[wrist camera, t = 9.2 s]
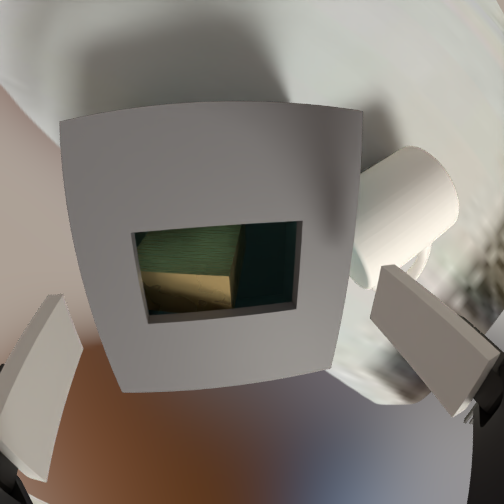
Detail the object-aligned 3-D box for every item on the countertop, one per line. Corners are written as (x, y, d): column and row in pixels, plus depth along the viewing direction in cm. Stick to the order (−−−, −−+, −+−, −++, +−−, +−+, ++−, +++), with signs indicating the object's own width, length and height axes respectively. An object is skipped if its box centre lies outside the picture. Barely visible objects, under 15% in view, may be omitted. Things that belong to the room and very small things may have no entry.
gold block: (169, 244, 22) (136, 308, 17) (163, 210, 21) (122, 270, 15) (245, 247, 22) (232, 317, 16) (244, 211, 20) (228, 276, 15)
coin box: (114, 125, 19) (59, 121, 10) (294, 117, 21) (362, 110, 12) (138, 309, 25) (122, 392, 16) (288, 295, 27) (330, 368, 18)
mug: (300, 193, 24) (345, 221, 17) (387, 141, 23) (449, 151, 16) (348, 292, 29) (389, 338, 22) (418, 241, 29) (468, 272, 21)
